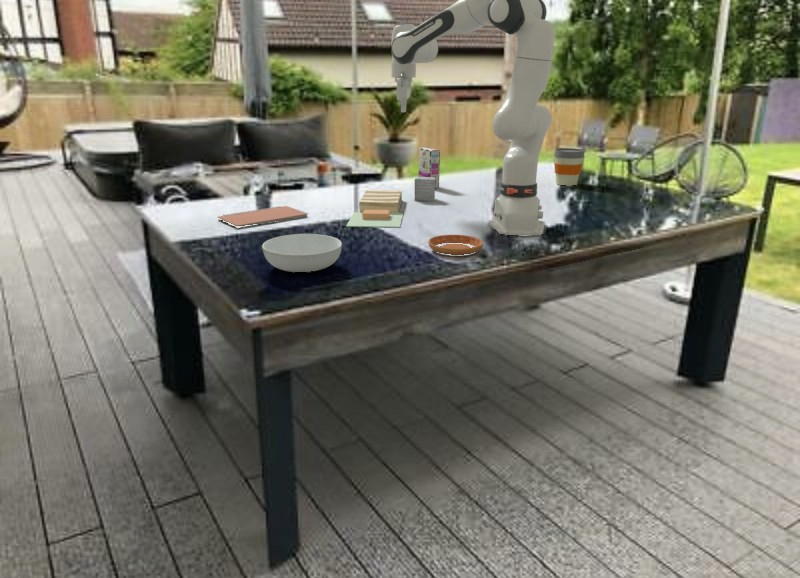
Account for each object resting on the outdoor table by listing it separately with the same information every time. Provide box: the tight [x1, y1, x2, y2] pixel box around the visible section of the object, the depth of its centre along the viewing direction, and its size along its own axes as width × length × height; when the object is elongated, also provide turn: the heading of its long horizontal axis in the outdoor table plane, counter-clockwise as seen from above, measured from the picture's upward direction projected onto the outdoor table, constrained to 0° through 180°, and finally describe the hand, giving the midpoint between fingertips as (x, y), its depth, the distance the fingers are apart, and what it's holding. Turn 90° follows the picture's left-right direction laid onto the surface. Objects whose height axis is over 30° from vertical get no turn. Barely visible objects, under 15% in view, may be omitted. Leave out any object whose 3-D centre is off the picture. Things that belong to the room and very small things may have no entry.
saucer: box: [428, 234, 484, 255], centre depth 184 cm, size 16×16×3 cm
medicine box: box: [414, 176, 436, 202], centre depth 248 cm, size 8×4×9 cm, turn 84°
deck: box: [358, 189, 403, 213], centre depth 238 cm, size 22×14×4 cm, turn 176°
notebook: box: [217, 205, 309, 226], centre depth 222 cm, size 27×17×2 cm, turn 128°
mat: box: [345, 211, 404, 228], centre depth 219 cm, size 20×18×1 cm
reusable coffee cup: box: [553, 147, 585, 187], centre depth 277 cm, size 13×13×15 cm
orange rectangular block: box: [362, 210, 390, 220], centre depth 221 cm, size 6×9×2 cm, turn 86°
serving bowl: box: [261, 233, 343, 273], centre depth 168 cm, size 21×21×7 cm
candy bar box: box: [418, 147, 441, 189], centre depth 272 cm, size 11×5×16 cm, turn 25°
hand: (403, 111), depth 233 cm, fingers closed
